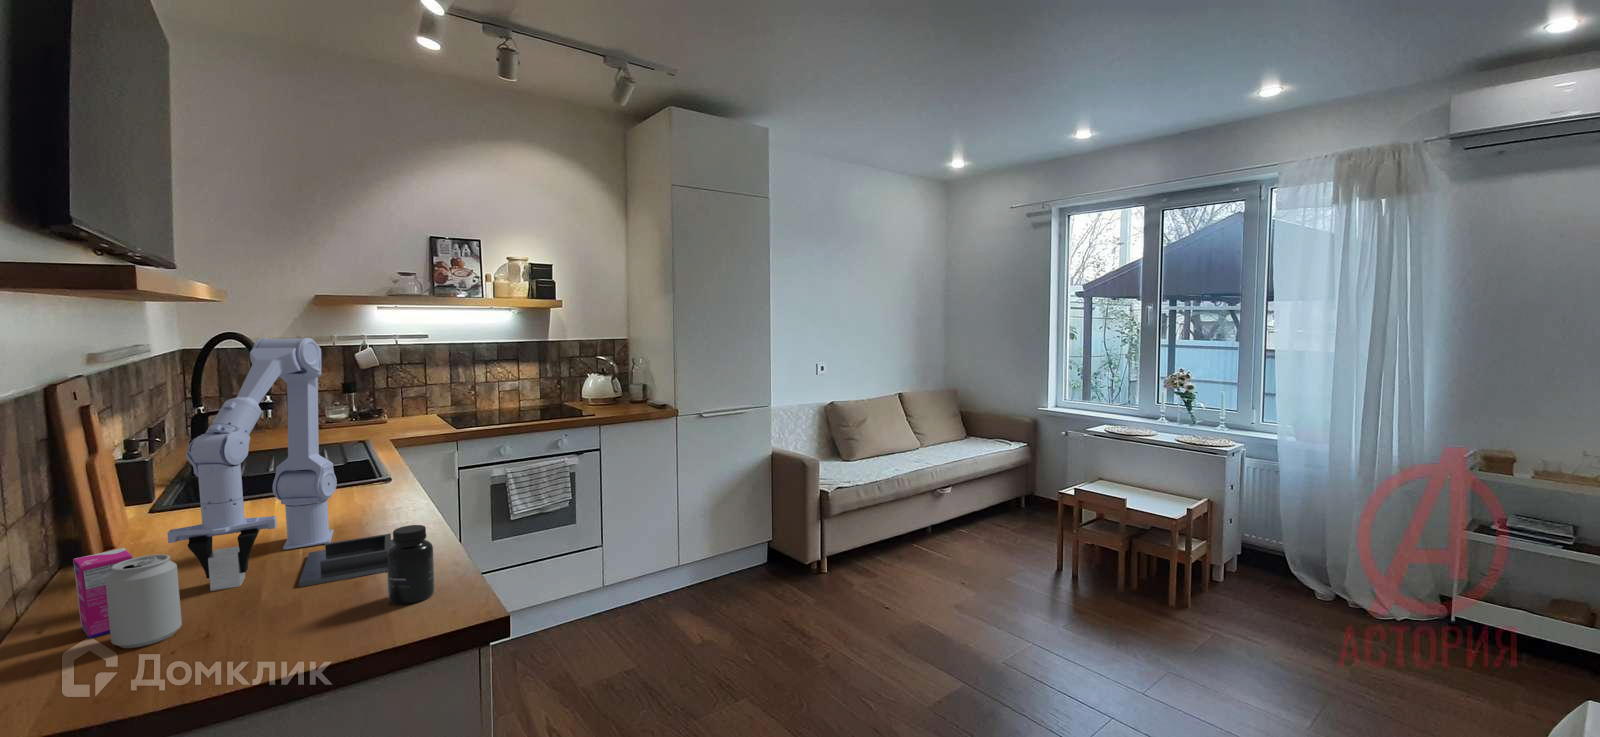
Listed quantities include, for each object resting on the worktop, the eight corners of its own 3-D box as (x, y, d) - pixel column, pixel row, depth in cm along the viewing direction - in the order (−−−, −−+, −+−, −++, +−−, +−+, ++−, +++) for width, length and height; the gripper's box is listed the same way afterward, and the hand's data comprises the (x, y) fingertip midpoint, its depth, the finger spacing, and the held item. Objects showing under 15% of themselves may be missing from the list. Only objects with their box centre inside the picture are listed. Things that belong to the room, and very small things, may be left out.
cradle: (309, 556, 131) (308, 542, 130) (402, 541, 139) (401, 527, 139) (298, 587, 115) (297, 570, 115) (403, 568, 124) (403, 553, 124)
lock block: (216, 581, 118) (214, 549, 118) (245, 577, 120) (243, 545, 120) (210, 591, 114) (207, 558, 114) (240, 586, 116) (237, 553, 116)
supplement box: (79, 630, 100) (72, 557, 99) (133, 615, 105) (127, 546, 104) (86, 640, 97) (79, 565, 96) (141, 625, 101) (135, 553, 101)
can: (102, 643, 96) (95, 564, 95) (170, 622, 102) (163, 548, 101) (123, 655, 92) (115, 573, 91) (191, 633, 99) (185, 556, 98)
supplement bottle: (386, 609, 106) (382, 537, 106) (390, 593, 112) (386, 526, 112) (434, 600, 110) (431, 531, 109) (436, 586, 116) (432, 520, 115)
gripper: (159, 511, 109) (166, 590, 110) (270, 498, 117) (275, 572, 118) (171, 502, 115) (177, 576, 116) (276, 490, 122) (281, 560, 123)
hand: (227, 573), depth 117 cm, fingers closed on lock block, 4 cm apart
